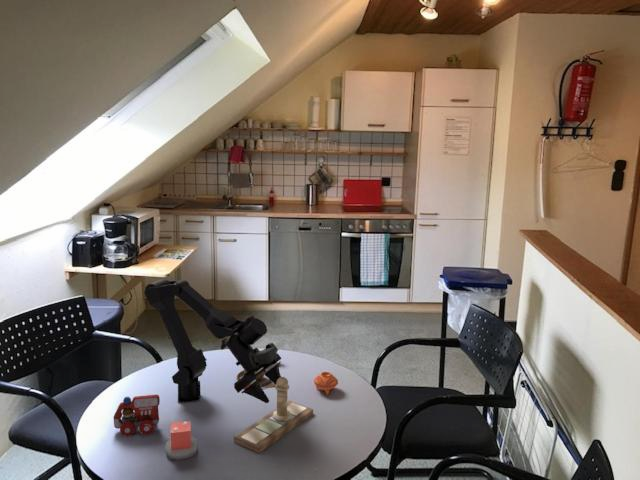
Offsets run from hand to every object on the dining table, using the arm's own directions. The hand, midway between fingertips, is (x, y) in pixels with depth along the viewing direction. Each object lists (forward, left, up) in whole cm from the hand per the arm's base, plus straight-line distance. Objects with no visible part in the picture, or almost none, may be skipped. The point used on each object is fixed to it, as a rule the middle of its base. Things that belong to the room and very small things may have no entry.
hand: (276, 395), depth 158 cm
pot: (+19, +15, -8) cm, 26 cm away
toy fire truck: (-39, +3, -8) cm, 40 cm away
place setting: (+1, +30, -9) cm, 31 cm away
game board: (-1, -3, -8) cm, 9 cm away
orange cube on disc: (-27, -10, -8) cm, 30 cm away
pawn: (+2, -1, -6) cm, 7 cm away
